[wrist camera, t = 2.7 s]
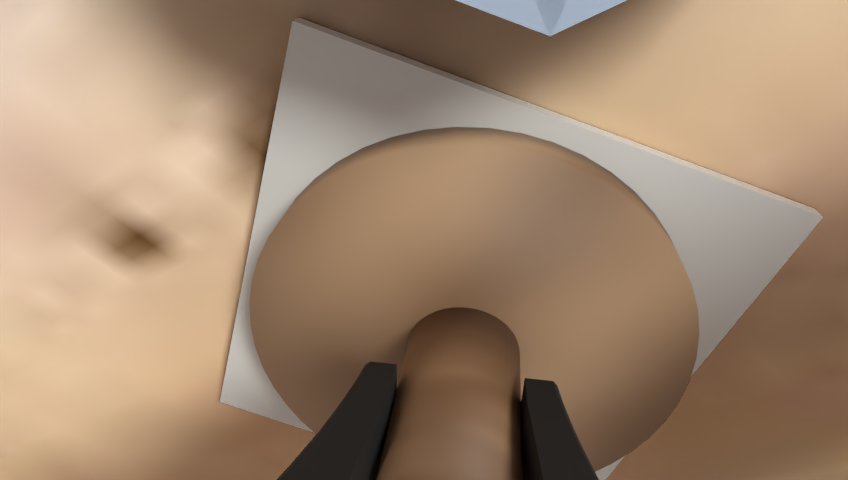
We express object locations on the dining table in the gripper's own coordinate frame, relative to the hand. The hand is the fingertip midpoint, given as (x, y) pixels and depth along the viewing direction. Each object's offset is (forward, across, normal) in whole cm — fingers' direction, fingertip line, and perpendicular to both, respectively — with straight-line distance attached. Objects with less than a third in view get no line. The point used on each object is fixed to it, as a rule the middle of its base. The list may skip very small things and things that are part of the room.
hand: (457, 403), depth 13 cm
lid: (+3, 0, 0) cm, 3 cm away
